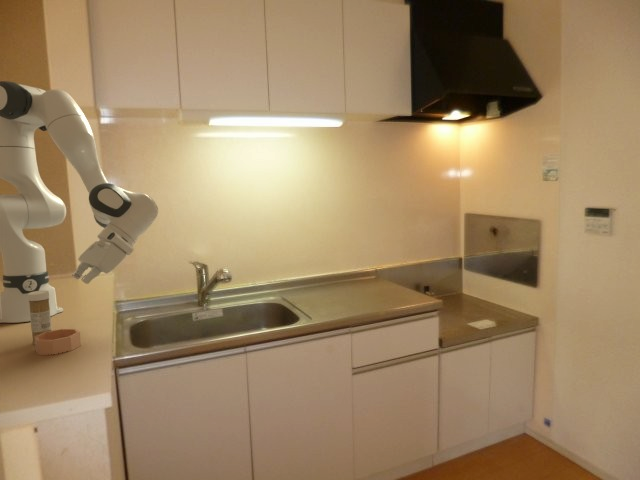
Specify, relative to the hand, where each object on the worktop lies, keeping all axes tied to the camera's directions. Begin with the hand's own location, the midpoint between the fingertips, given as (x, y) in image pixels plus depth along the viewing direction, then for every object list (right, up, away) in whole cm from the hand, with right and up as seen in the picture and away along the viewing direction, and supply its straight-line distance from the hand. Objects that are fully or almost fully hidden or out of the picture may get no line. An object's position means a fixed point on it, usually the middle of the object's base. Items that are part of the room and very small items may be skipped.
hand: (79, 279), depth 117 cm
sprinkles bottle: (-7, -16, -5) cm, 18 cm away
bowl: (0, -16, -9) cm, 19 cm away
